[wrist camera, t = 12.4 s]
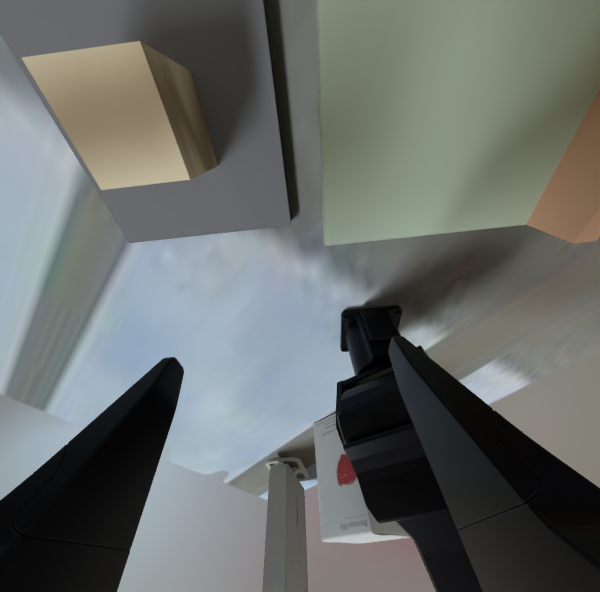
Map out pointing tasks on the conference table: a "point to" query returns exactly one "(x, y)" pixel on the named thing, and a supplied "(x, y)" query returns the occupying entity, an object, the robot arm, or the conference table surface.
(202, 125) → the beech block
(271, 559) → the network device
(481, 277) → the conference table surface
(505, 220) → the sliding cover
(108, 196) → the charcoal mat
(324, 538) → the supplement box
